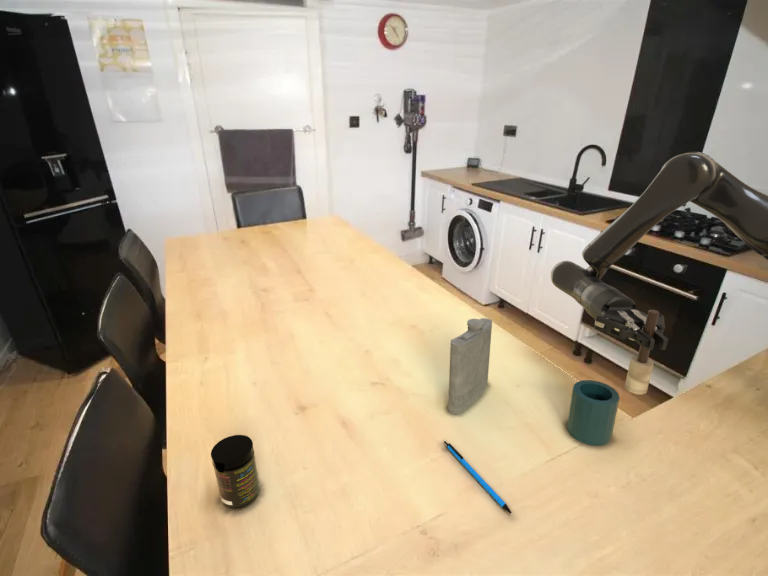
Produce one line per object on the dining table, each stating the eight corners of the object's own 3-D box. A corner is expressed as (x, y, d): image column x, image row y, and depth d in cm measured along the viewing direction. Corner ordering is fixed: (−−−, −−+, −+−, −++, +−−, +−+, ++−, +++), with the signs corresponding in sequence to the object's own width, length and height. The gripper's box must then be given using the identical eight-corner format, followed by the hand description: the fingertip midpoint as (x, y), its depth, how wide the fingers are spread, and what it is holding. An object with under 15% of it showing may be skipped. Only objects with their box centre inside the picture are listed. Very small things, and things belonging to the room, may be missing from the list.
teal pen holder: (598, 418, 89) (605, 379, 85) (618, 445, 81) (628, 403, 78) (560, 419, 89) (566, 380, 85) (577, 446, 81) (584, 404, 78)
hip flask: (477, 379, 104) (482, 307, 97) (492, 384, 102) (498, 311, 95) (445, 410, 93) (448, 331, 86) (461, 417, 90) (465, 337, 83)
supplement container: (268, 485, 74) (260, 438, 71) (245, 516, 68) (236, 467, 65) (237, 476, 76) (228, 431, 73) (212, 506, 70) (201, 458, 67)
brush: (639, 383, 79) (657, 307, 73) (651, 394, 75) (670, 315, 69) (620, 383, 79) (637, 307, 73) (631, 394, 75) (649, 316, 69)
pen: (446, 442, 83) (446, 438, 83) (513, 515, 67) (514, 509, 67) (442, 444, 83) (443, 439, 82) (509, 517, 67) (510, 512, 66)
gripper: (576, 289, 85) (622, 326, 69) (642, 287, 85) (704, 324, 69) (571, 321, 88) (614, 365, 71) (635, 320, 88) (693, 363, 71)
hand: (658, 345), depth 70 cm, fingers closed on brush
